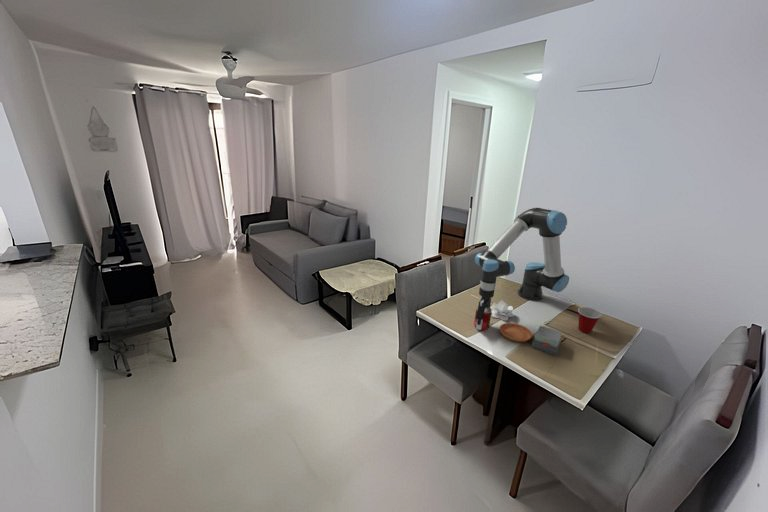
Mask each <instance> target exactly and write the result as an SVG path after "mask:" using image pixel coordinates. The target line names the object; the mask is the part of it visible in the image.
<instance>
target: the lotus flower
mask: <svg viewBox="0 0 768 512" xmlns="http://www.w3.org/2000/svg"><path fill="white" fill-rule="evenodd" d="M491 310H492V312H491V318H495V319H500V320H501V321H508V320H509V318H511V317H515V316H516V314H514V313H515V312H514V307H513V305H509V304H507V303H505V301H504V300H500V301H499V302H498V303H497V302H495V301H494V302H493V303H492V308H491ZM494 311H495V312H496V313H495V312H494Z"/></svg>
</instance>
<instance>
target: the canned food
mask: <svg viewBox="0 0 768 512" xmlns="http://www.w3.org/2000/svg"><path fill="white" fill-rule="evenodd" d="M478 306H479V305H478ZM478 306H476V308H475V316H474V323H473V325H474V327H475V328H476V325H477V319H476V316H477V311H478ZM491 309H492V308H491V307H490V308H489V307H488V308H487V307H486V308H485V311H484V314H483V318H482V319H483V322H482V328H481V330H480V331H486V330H488V329H489V328H490V321H491V318H492V313H491V312H492V310H493V309H492V310H491Z"/></svg>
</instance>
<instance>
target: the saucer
mask: <svg viewBox="0 0 768 512" xmlns="http://www.w3.org/2000/svg"><path fill="white" fill-rule="evenodd" d="M499 332H500V333H501V334H502V336H503V337H504V338H506V339H507V340H508V341H509V340H510V341H512V342H516V343H525V342H528V341H530V340H531V339H532V337H533V333H532V331H531V330H530V329H528V327H525V326H524V325H522V324H518V323H515V322H504V323H501V324H500V326H499Z"/></svg>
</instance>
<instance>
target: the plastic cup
mask: <svg viewBox="0 0 768 512" xmlns="http://www.w3.org/2000/svg"><path fill="white" fill-rule="evenodd" d="M577 312H578V323H577V324H578V325H577V326H578V327H577V328H578V331H579V332H581V333H583V334H591V332H592V331H593V329H595V325H596V323H597V322H598V321H599V319H600V318H601V317H602V313H601V312H600V311H598V310H597V309H594V308H592V307H588V306H582V307H579V308H577Z"/></svg>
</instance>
